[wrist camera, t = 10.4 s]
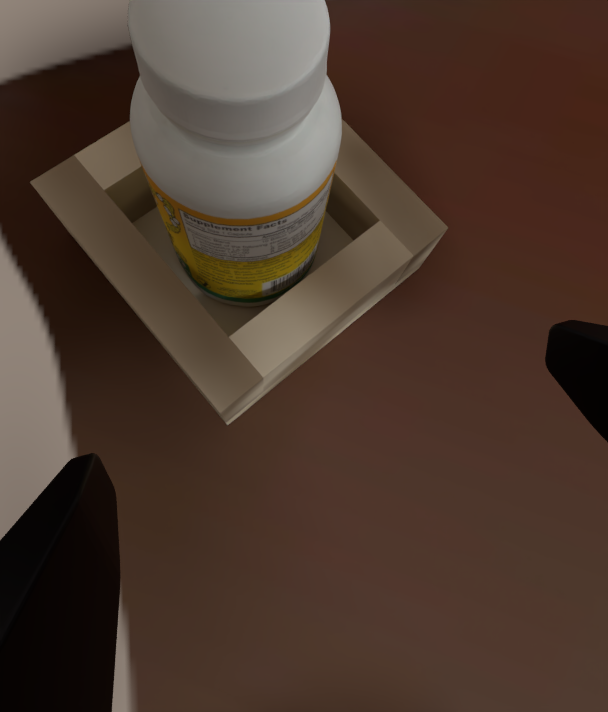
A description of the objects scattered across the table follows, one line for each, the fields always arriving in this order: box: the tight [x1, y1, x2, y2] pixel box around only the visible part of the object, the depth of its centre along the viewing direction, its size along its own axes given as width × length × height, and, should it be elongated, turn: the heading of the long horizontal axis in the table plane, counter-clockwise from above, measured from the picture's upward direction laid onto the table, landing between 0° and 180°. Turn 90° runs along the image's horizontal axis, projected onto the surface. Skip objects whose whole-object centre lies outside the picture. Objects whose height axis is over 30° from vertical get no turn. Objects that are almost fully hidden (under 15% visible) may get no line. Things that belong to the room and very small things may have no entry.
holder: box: [30, 118, 448, 425], centre depth 18 cm, size 10×10×3 cm
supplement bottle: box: [128, 0, 342, 307], centre depth 14 cm, size 5×5×10 cm
